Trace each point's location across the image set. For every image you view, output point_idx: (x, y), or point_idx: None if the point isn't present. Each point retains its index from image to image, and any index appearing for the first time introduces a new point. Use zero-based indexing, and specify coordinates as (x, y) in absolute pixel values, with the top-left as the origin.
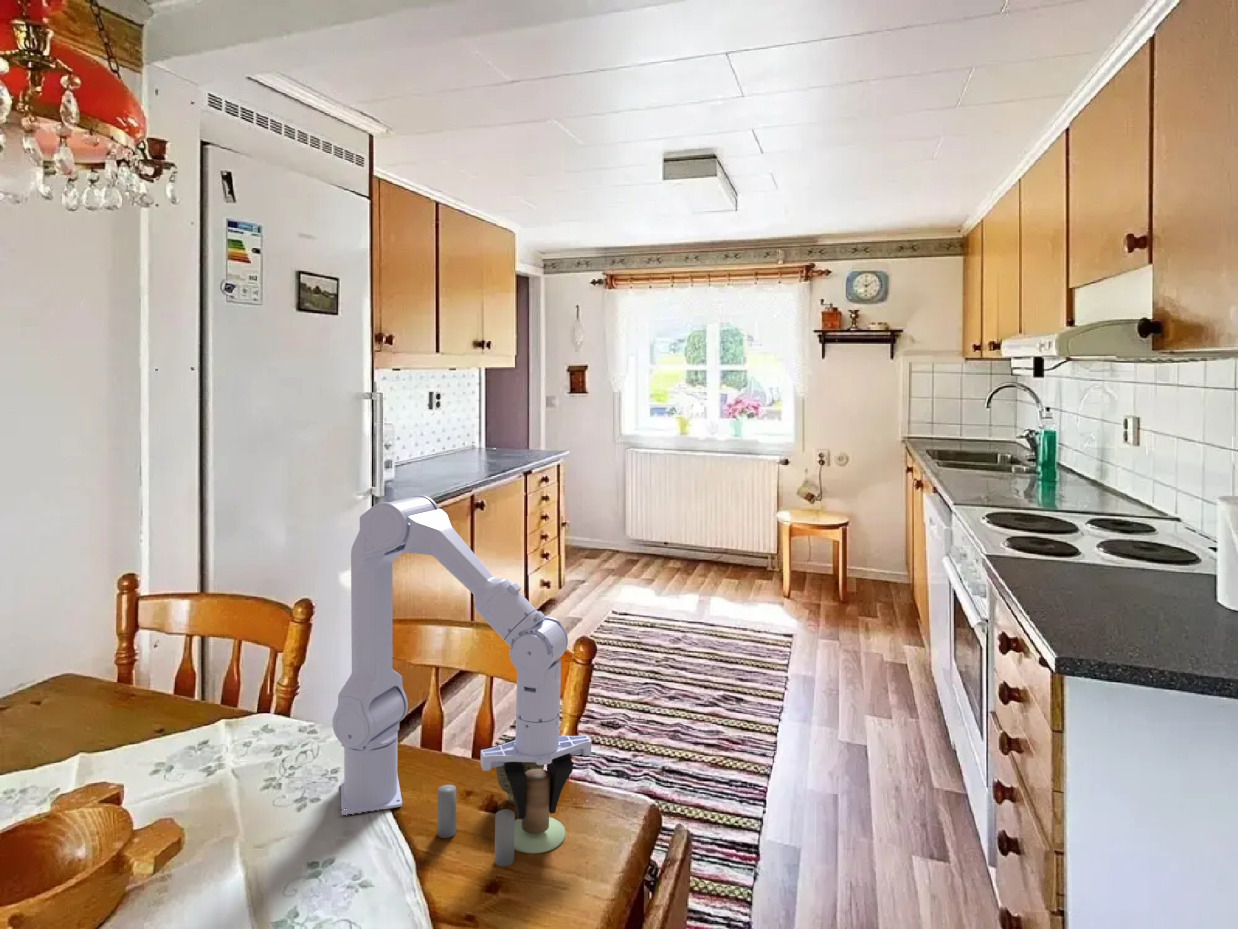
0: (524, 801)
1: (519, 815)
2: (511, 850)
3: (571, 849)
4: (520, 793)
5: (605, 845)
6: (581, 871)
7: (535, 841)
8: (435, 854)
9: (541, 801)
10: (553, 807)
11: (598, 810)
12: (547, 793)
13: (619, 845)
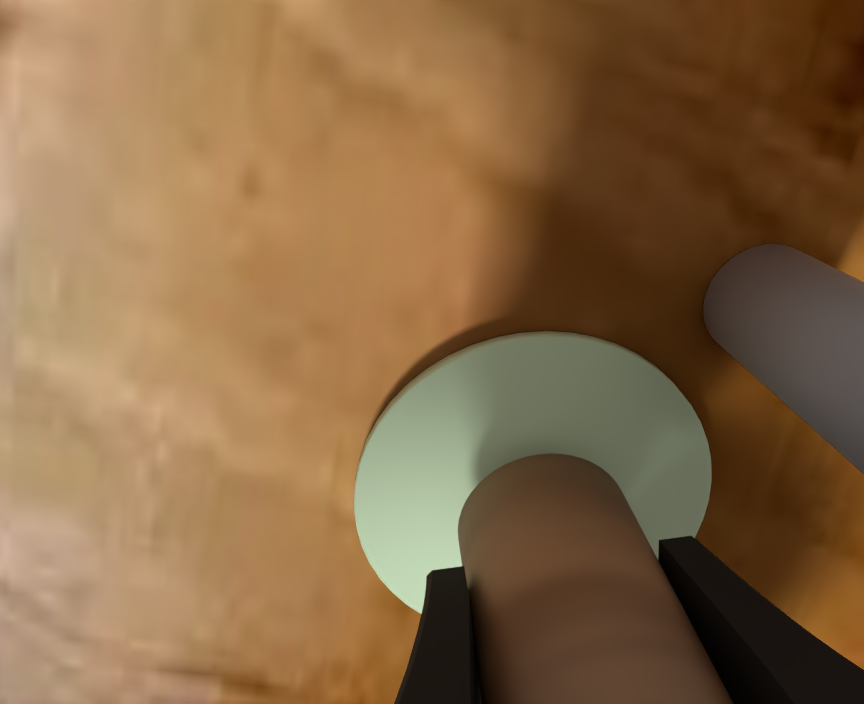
0: (736, 629)
1: (709, 552)
2: (777, 287)
3: (337, 336)
4: (831, 691)
5: (108, 340)
6: (300, 92)
7: (552, 421)
8: None
9: (583, 620)
10: (450, 595)
11: (133, 649)
12: (530, 693)
13: (10, 325)
